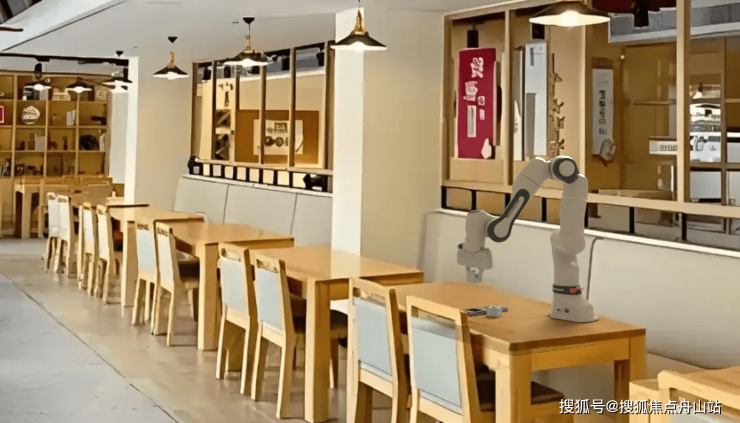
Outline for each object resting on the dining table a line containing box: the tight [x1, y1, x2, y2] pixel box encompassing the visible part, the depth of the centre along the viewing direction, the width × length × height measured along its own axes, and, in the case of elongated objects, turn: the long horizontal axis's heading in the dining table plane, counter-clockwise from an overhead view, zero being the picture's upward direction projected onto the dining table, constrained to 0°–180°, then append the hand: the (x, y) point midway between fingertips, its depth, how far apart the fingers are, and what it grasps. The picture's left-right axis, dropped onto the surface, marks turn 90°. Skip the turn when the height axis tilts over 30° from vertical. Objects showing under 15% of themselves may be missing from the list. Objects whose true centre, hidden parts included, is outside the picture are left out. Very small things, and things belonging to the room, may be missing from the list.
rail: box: [460, 304, 509, 317], centre depth 391 cm, size 8×22×3 cm, turn 125°
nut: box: [486, 305, 503, 318], centre depth 383 cm, size 5×5×5 cm
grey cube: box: [465, 269, 483, 284], centre depth 387 cm, size 5×5×5 cm
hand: (474, 277), depth 387 cm, fingers closed on grey cube, 5 cm apart
